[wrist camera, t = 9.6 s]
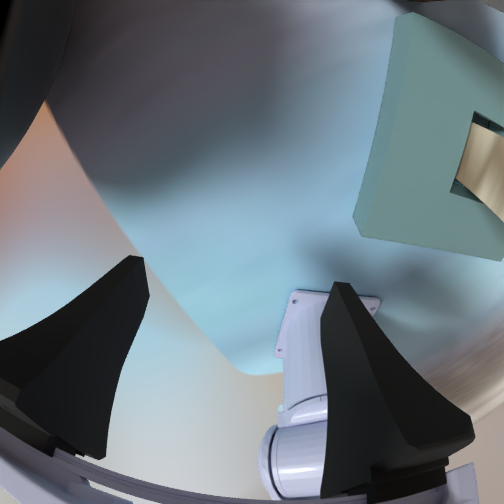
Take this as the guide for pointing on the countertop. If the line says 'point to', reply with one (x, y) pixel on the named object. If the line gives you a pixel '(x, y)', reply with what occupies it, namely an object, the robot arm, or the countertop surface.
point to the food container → (498, 0)
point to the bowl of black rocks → (28, 62)
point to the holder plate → (431, 143)
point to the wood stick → (484, 167)
